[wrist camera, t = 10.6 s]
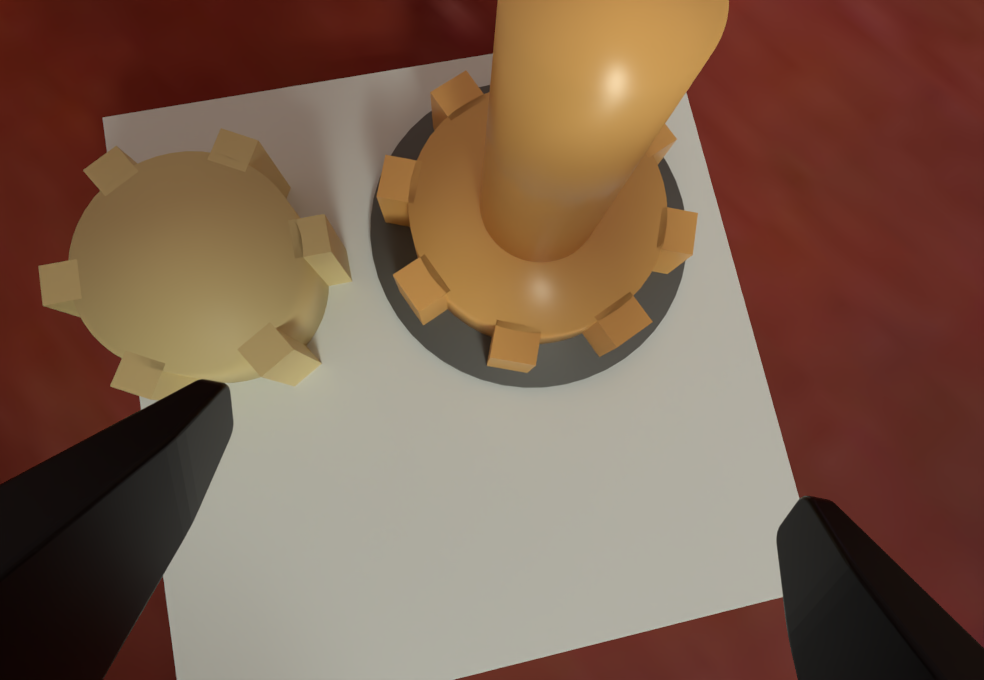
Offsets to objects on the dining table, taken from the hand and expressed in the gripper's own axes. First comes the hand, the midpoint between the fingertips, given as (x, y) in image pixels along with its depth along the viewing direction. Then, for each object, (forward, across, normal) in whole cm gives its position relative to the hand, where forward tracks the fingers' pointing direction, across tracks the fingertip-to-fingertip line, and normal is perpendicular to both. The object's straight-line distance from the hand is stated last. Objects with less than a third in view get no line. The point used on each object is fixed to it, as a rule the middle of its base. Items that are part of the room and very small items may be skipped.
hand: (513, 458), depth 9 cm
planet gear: (+10, 0, +1) cm, 10 cm away
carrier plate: (+9, +2, +5) cm, 10 cm away
